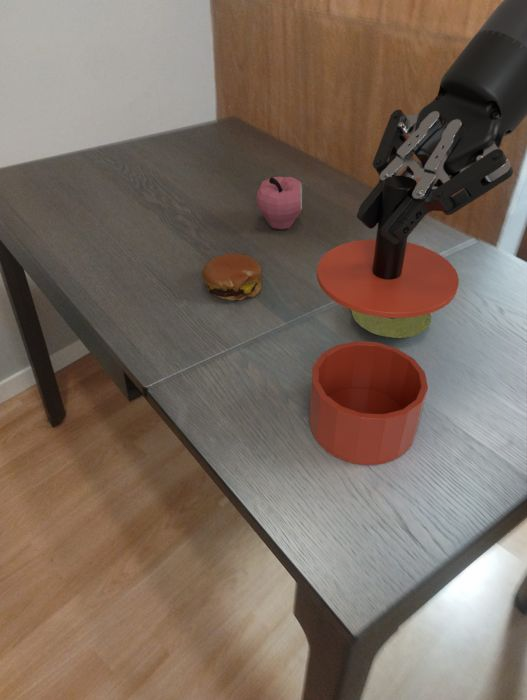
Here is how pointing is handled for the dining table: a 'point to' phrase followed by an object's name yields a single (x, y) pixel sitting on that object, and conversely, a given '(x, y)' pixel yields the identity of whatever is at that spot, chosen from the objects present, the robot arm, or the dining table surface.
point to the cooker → (366, 402)
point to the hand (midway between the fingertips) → (375, 230)
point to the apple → (280, 201)
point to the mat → (393, 325)
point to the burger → (232, 277)
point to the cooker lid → (388, 269)
